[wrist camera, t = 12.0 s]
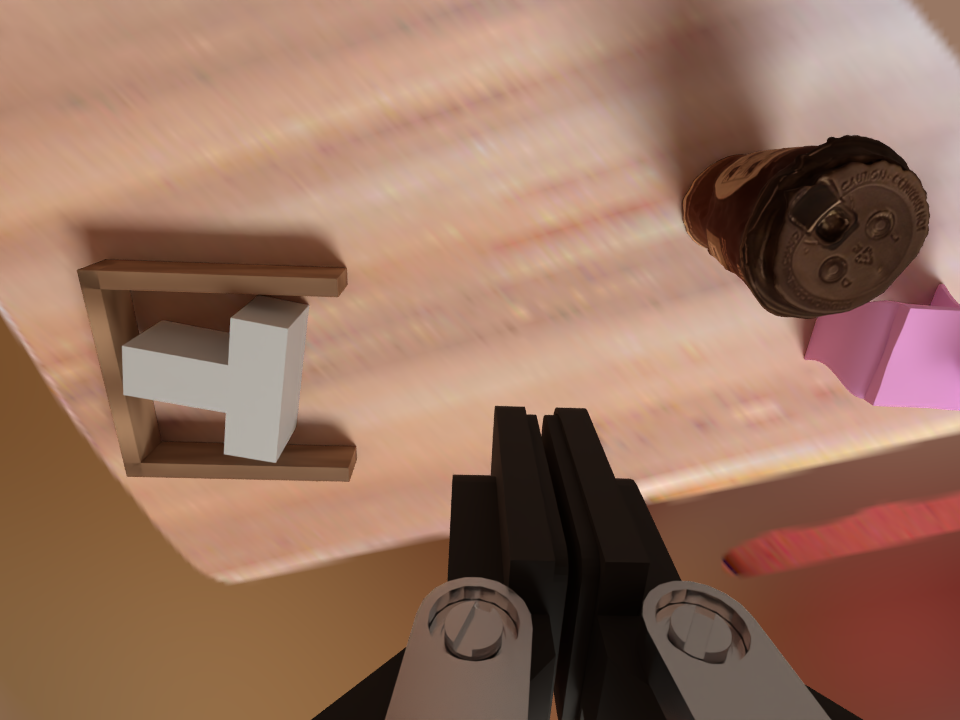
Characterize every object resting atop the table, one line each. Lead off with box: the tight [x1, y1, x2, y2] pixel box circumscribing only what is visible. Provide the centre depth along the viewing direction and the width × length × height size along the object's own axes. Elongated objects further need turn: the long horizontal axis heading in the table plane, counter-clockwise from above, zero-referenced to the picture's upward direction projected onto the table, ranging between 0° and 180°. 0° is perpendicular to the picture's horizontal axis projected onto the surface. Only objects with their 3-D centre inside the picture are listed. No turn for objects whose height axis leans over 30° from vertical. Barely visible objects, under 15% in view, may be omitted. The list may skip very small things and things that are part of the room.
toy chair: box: [804, 284, 960, 410], centre depth 34 cm, size 8×9×15 cm
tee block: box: [122, 295, 309, 463], centre depth 38 cm, size 10×10×5 cm
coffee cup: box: [683, 135, 930, 319], centre depth 31 cm, size 9×8×13 cm
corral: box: [77, 259, 357, 482], centre depth 40 cm, size 15×16×3 cm
